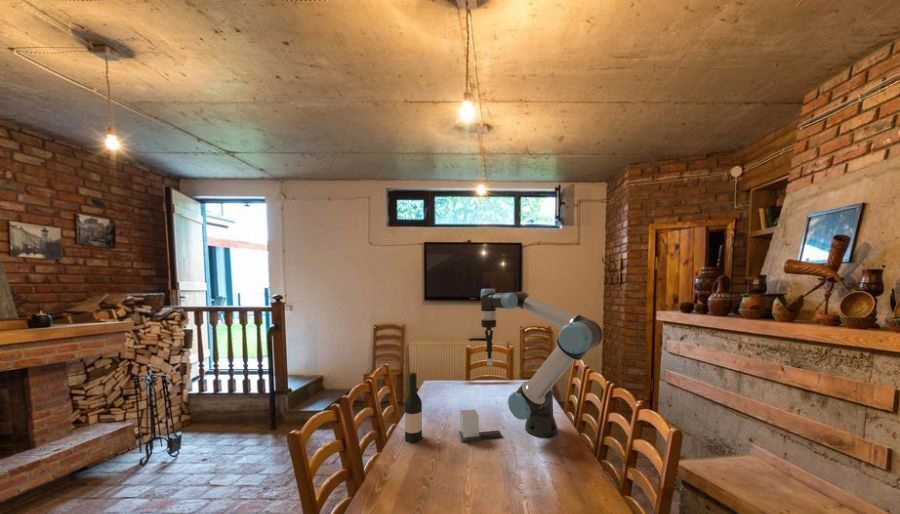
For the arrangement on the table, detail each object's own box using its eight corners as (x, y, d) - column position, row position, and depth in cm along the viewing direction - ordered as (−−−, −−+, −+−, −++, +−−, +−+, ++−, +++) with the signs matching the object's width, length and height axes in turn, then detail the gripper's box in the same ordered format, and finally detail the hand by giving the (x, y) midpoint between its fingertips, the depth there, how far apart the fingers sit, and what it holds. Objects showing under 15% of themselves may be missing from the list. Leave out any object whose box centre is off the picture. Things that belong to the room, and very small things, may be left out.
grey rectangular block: (475, 429, 155) (475, 409, 155) (479, 436, 148) (478, 415, 148) (460, 430, 154) (460, 410, 154) (463, 437, 147) (462, 416, 147)
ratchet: (498, 433, 155) (498, 419, 156) (501, 438, 150) (501, 423, 151) (459, 436, 152) (458, 422, 153) (461, 442, 147) (460, 427, 148)
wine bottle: (419, 443, 146) (418, 375, 149) (401, 442, 148) (401, 374, 150) (424, 435, 155) (423, 370, 157) (407, 433, 156) (407, 369, 159)
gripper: (481, 316, 179) (482, 355, 177) (480, 322, 154) (481, 368, 153) (495, 316, 178) (496, 356, 177) (496, 322, 153) (497, 368, 152)
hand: (489, 361), depth 165 cm, fingers open, 13 cm apart
